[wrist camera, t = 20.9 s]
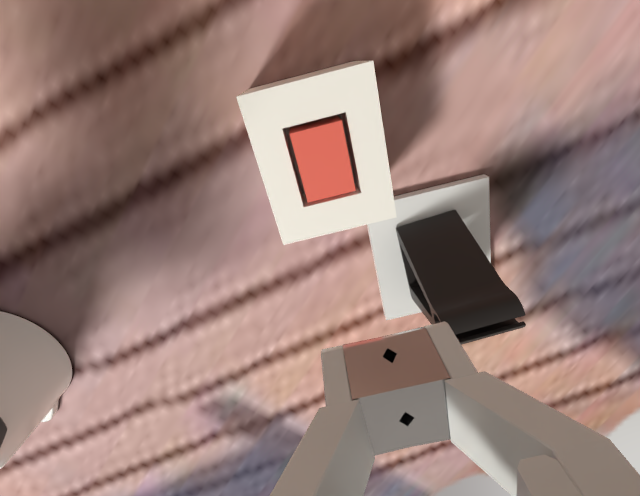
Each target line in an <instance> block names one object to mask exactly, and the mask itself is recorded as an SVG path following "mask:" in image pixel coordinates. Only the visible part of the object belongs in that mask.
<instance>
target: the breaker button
mask: <svg viewBox="0 0 640 496" xmlns="http://www.w3.org/2000/svg"><path fill="white" fill-rule="evenodd" d="M289 134H290V138H291V142H292V145H293V149H294V153H295V157H296V160H297V164H298V168H299V172H300V175H301V179H302V183H303V187H304V190H305V194H306V198H307V202H312V201H316V200H320V199H324V198H328V197H333V196H337V195H341V194H345V193H349V192H353V191H356V189H355V184H354V179H353V174H352V169H351V164H350V159H349V154H348V149H347V144H346V139H345V134H344V129H343V124H342V120H341V119H340V118H339V117H338V115H334V116H330V117H326V118H322V119H319V120H315V121H311V122H307V123H303V124H299V125H295V126H291V127H290V132H289Z"/></svg>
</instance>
